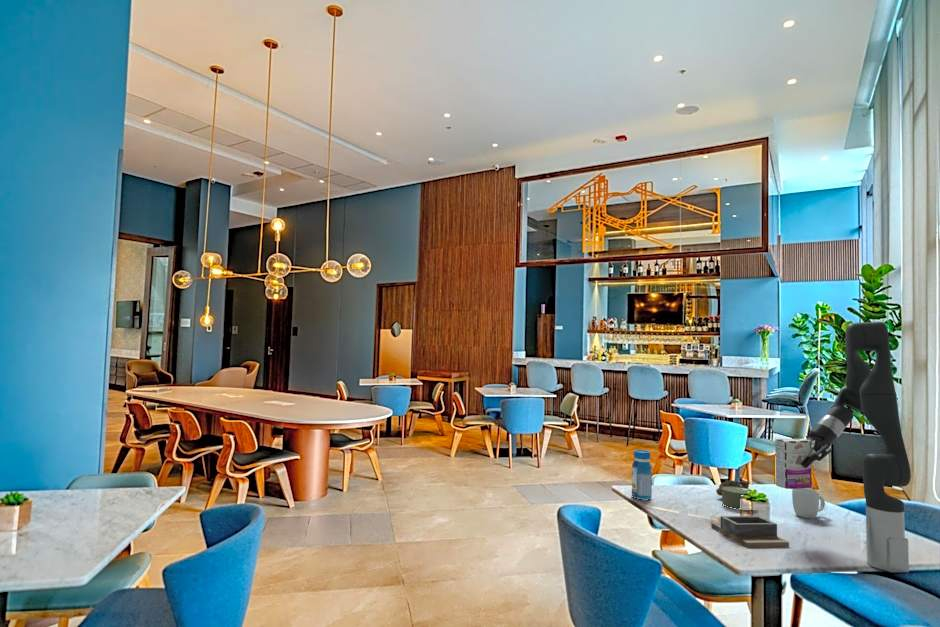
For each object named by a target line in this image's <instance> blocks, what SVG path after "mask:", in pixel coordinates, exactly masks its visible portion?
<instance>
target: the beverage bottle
mask: <svg viewBox="0 0 940 627" xmlns="http://www.w3.org/2000/svg"><path fill="white" fill-rule="evenodd" d="M633 458H634V461H633V462H632V465H631V467H632V470H631V497H632V496H633V497H634V498H637V499H636V500H638V499H642V500H641V501H649V500H648V499H650V500H652V498H653V496H652V488H653V487H652V486H653V484H652V482H653V478H652V477H653V472H652V469H653V466H652V464H651V462H650V461H649V460H651V452H650V451H649V450H644V449H635V450H634V451H633ZM633 497H632V498H633ZM634 498H633V499H634Z"/></svg>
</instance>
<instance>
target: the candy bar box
mask: <svg viewBox="0 0 940 627" xmlns="http://www.w3.org/2000/svg"><path fill="white" fill-rule="evenodd" d="M774 447H775V448H774V449H775V453H774V454H775V457H774V458H775V486H777V487H779V488H783V489H786V490H789V489H790V490H792V489H795V488H807V489H811V488H813V482H812V481H813V480H812V463H811V464H810V465H809V466H808V467H807V468H804V467H803V466H802V465H801V463H802V462H803V460H804V459H805V458H806V457H807V456H808V455H809V453H810V451H809V450H810V448H811V441H809V440H806V439H805V438H775V440H774ZM808 457H809V456H808Z"/></svg>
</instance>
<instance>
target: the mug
mask: <svg viewBox="0 0 940 627" xmlns="http://www.w3.org/2000/svg"><path fill="white" fill-rule="evenodd" d="M791 498H792V507H793V511H794V513H795V515H796V516H798V517H800V518H805V519H816V517H817V516H818V513H820V512H822V511H823V510H824V508H825V506H826V503H825V502H826V501H825V499H824V497H823V496H822V495H820V492H819V491H817V490H814V489H811V488H795V489H791Z"/></svg>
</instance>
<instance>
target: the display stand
mask: <svg viewBox="0 0 940 627" xmlns="http://www.w3.org/2000/svg"><path fill="white" fill-rule="evenodd" d="M710 524H711V526H710V527H711V528H712V529H714V530H715V531H717V532H719V533H721V534H723V535H725V536H726V537H728V538H730V539H732V540H734V541H735V542H737V543H739V544H741V545H742V546H744V547H746V548H786V547H787V548H788V547H790V541H788V540H786V539H784V538H781V537H780V536H778V524H777V523H775V522H774V521H772V520H769V519H768V518H765V517H764V516H763V517H762V516H760V515H746V516H745V515H731V516H730V515H729V516H728V515H721V516H720V522H711V523H710Z"/></svg>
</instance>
